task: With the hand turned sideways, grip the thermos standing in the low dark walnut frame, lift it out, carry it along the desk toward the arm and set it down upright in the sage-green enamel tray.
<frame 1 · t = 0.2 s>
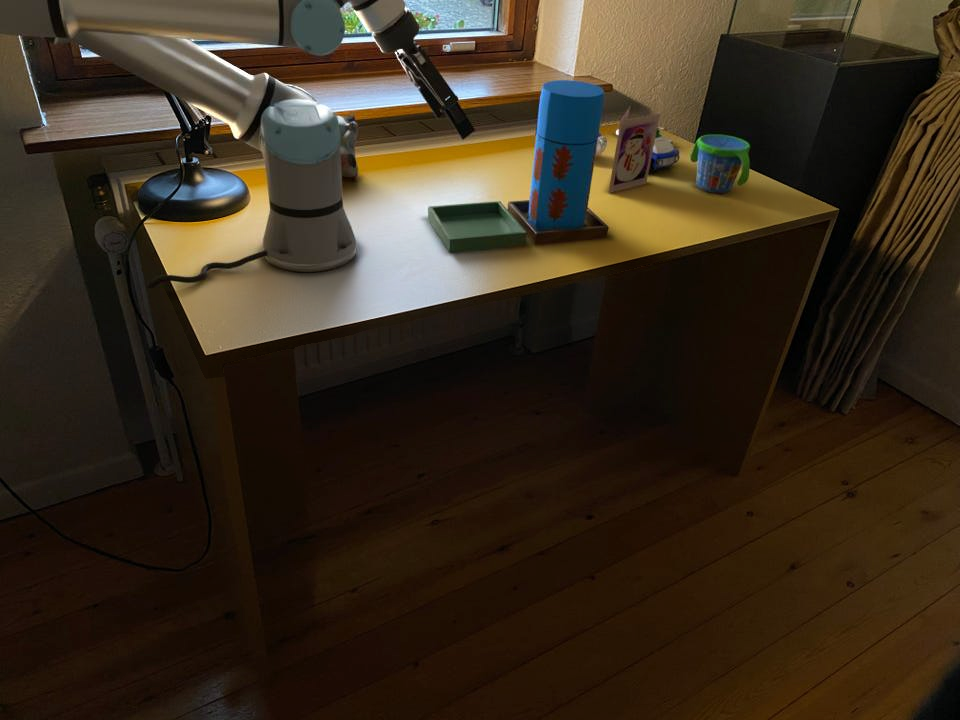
hand: (455, 123, 133), 16 cm above the table, tool tilted 35°, fingers open, 13 cm apart
lucky cat figurine: (326, 176, 152), on the table
snack cup: (712, 188, 159), on the table
thermos: (555, 225, 139), resting in walnut frame
greeting card: (618, 184, 158), on the table
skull: (578, 159, 170), on the table
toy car: (646, 166, 169), on the table
walnut frame: (555, 224, 139), on the table
hard drive: (643, 141, 183), on the table
sage tray: (475, 231, 134), on the table
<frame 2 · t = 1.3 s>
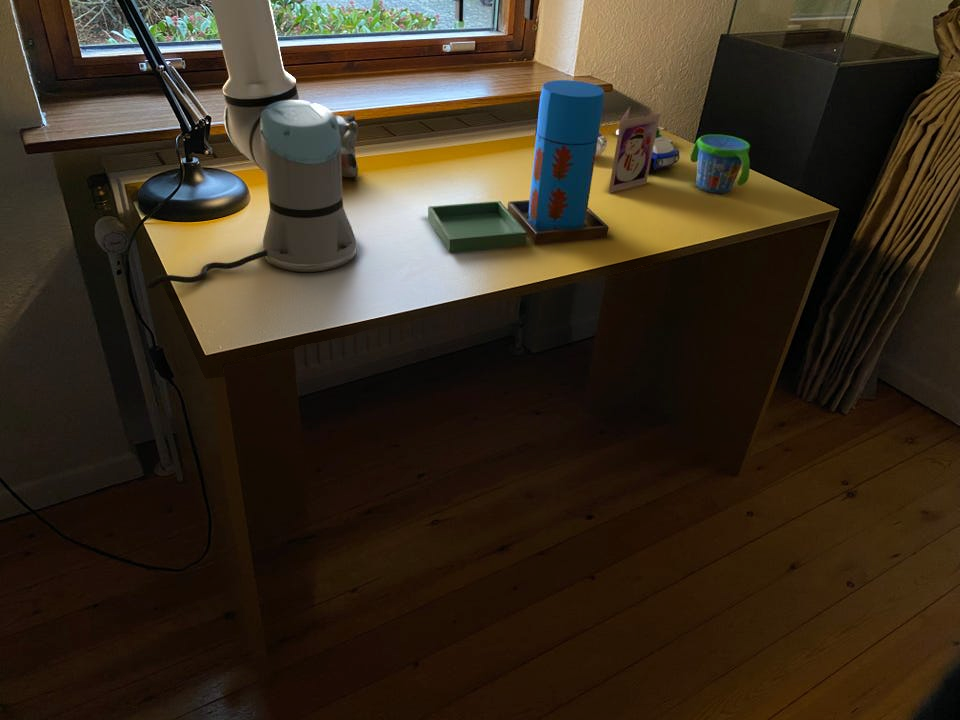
hand: (494, 19, 137), 31 cm above the table, tool pointing down, fingers open, 13 cm apart
nothing on the table moved.
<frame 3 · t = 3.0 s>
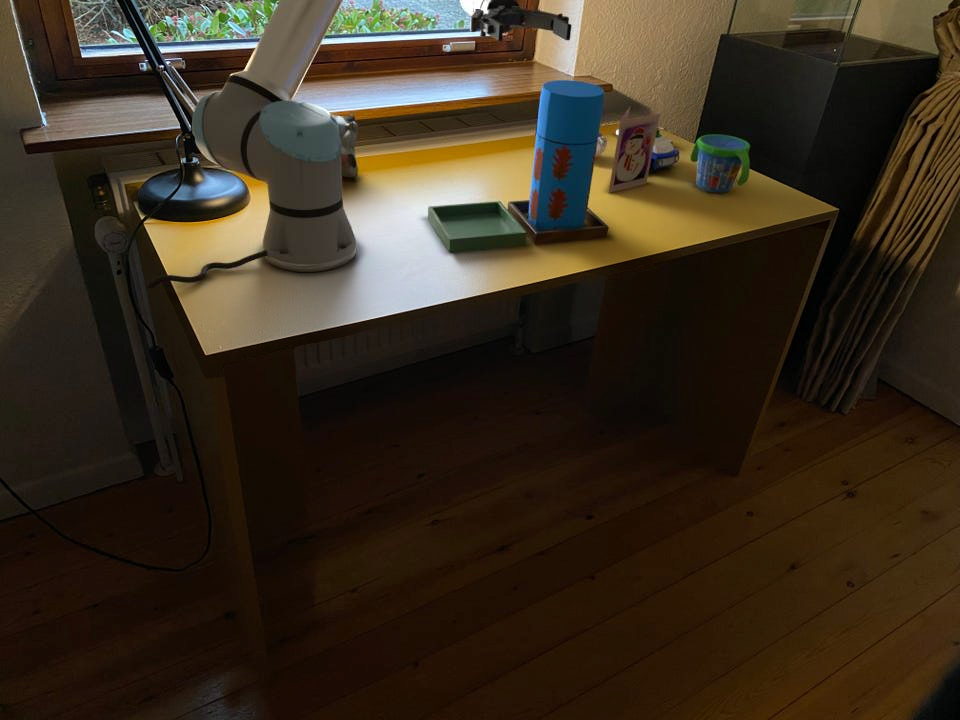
hand: (535, 33, 136), 30 cm above the table, tool horizontal, fingers open, 13 cm apart
nothing on the table moved.
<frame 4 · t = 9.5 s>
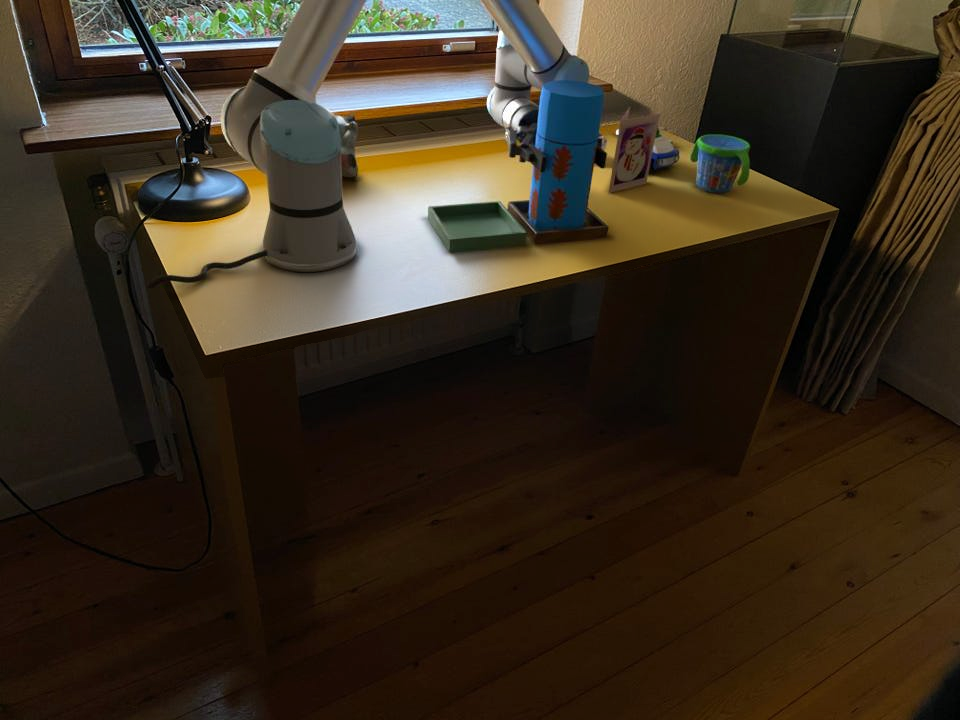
hand: (574, 162, 128), 13 cm above the table, tool horizontal, fingers closed on thermos, 11 cm apart
thermos: (555, 225, 139), resting in walnut frame, touching gripper
everything else where it was.
when the fingers open (14 cm above the table, at t = 18.3 s): thermos stays where it is, resting on sage tray.
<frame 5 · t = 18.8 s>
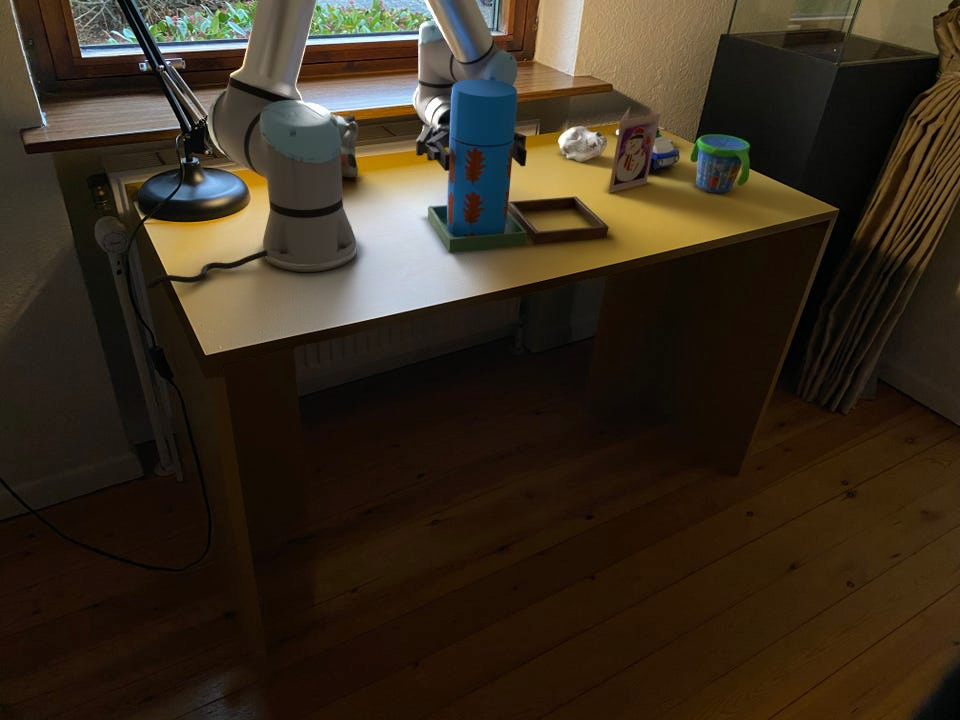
hand: (486, 160, 123), 14 cm above the table, tool horizontal, fingers open, 13 cm apart
thermos: (476, 230, 134), resting on sage tray
everything else where it was.
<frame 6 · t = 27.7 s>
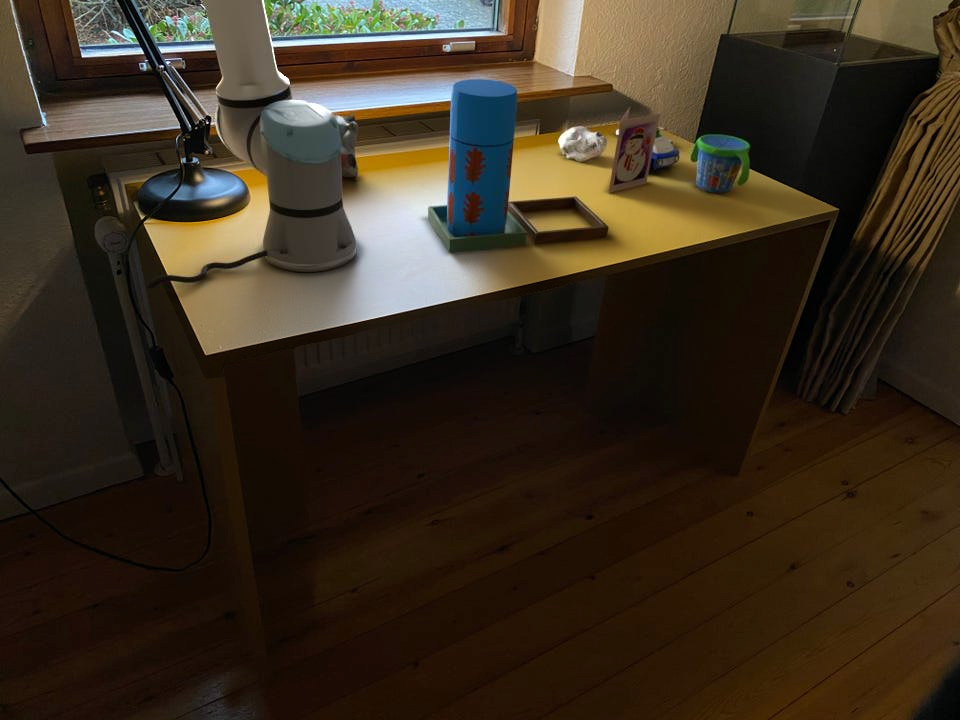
nothing on the table moved.
at the end: thermos 0.1 cm off-centre in the sage tray, point 0.3 cm above the sage tray's base; thermos tilted 0°; the gripper is holding nothing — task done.
